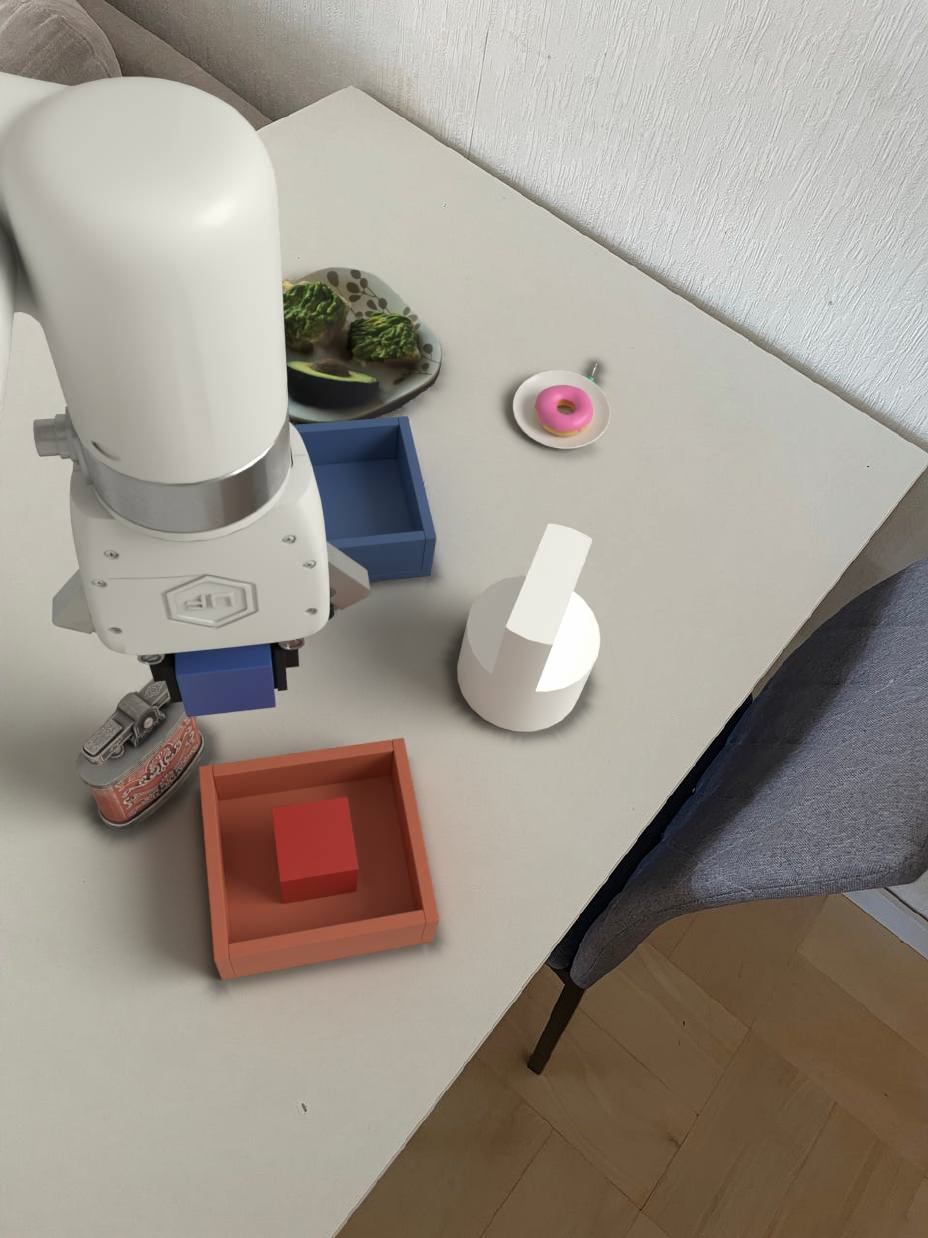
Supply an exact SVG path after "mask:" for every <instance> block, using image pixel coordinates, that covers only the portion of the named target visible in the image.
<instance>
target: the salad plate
mask: <svg viewBox="0 0 928 1238" xmlns="http://www.w3.org/2000/svg"><path fill="white" fill-rule="evenodd" d="M282 290H283V312H284V332H285V350H286V368H287V387H288V406H289V422H290V423H291V424H294V425H299V424H312V423H325V422H338V421H351V420H365V419H377V418H380V417H383V416H384V415H387V414H390V413H392V412H394V411H396V410H398V409H400V408H402V407H403V406H406V405H407V404H408V403H409V402H411V401H412V400H414V399H416V398H417V397H418V396H420V395H421V394H422V393H424V392H425V391H427V390H428V389H429V388H431V387H432V386H433V385H434V384H435V383H436V381H437V380H438V377H439V375H440V371H441V368H442V359H443V358H442V357H443V354H442V353H443V351H442V350H443V349H442V348H443V347H442V344H441V341H440V340H439V338H438V336H437V335H436V333H435V331H433V330H432V329H431V328H430V326H429V325H428V324H427V323H426V322H425V321H424V320H423V319H422V318H421V317H420V316H419V315H418V314H417V313H416V312H415V311H414V310H413V309H412V308H411V306H409V305H408V304H406V303H405V300H403V299H402V298H401V297H400V296H401V295H400V294H398V293H397V292H396V291H395V290H394V289H393V288H392V287H391V286H390V285H389V284H387V283H386V282H385V281H384V280H383V279H382V278H381V277H380V276H378V275H376V274H374V273H372V272H369V271H367V270H363V269H359V268H353V267H347V266H345V267H344V266H330V267H325V268H321V269H318V270H315V271H312V272H310V273H308V274H306V275H303V276H300V277H298V278H296V279H293V280H291V281H290V280H289V279H287V278H286V279H284V280H282Z"/></svg>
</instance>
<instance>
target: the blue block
mask: <svg viewBox="0 0 928 1238" xmlns="http://www.w3.org/2000/svg"><path fill="white" fill-rule="evenodd" d="M175 673H176V679H177V683H178V686H179V690H180V694H181V697H182V701H183V705H184V709H185V712H186V716H187V717H195V718H196V717H203V716H212V715H220V714H221V715H222V714H229V713H239V712H247V711H256V710H264V709H273V708H276V707H277V701H276V693H275V689H274V681H273V671H272V661H271V651H270V643H265V644H256V645H247V646H238V647H229V648H219V649H209V650H199V651H188V652H177V653H175Z"/></svg>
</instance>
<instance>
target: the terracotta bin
mask: <svg viewBox="0 0 928 1238" xmlns="http://www.w3.org/2000/svg"><path fill="white" fill-rule="evenodd" d="M406 746H407V745H406V741H405V738H404V737H402V738H401V737H400V738H392V739H386V740H380V741H373V742H372V741H371V742H365V743H359V744H351V745H344V746H337V747H330V748H323V749H316V750H315V749H314V750H307V751H303V752H295V753H288V754H281V755H273V756H265V757H259V758H251V759H244V760H238V761H231V762H225V763H217V764H209V765H201V766H199V767H198V779H199V791H200V793H199V794H200V804H201V816H202V827H203V841H204V852H205V865H206V878H207V888H208V901H209V902H208V903H209V913H210V915H209V916H210V926H211V937H212V938H211V939H212V949H213V961H214V963H215V966H216V968H217V972H218V974H219V976H220V979H221V981H225V980H226V981H227V980H231V979H237V978H242V977H247V976H253V975H259V974H265V973H269V972H274V971H280V970H285V969H291V968H297V967H301V966H307V965H314V964H318V963H324V962H328V961H334V960H340V959H346V958H351V957H357V956H361V955H367V954H372V953H373V954H374V953H379V952H383V951H389V950H394V949H400V948H406V947H410V946H416V945H422V944H427V943H432V942H433V939H434V936H435V934H436V931H437V927H438V924H439V922H440V916H439V912H438V906H437V902H436V901H437V900H436V896H435V891H434V886H433V881H432V875H431V869H430V865H429V859H428V854H427V850H426V845H425V840H424V834H423V828H422V824H421V819H420V814H419V807H418V803H417V798H416V793H415V792H416V791H415V787H414V782H413V777H412V773H411V767H410V761H409V757H408V751H407V747H406ZM341 797H347V798H348V805H349V811H350V817H351V824H352V830H353V836H354V843H355V849H356V855H357V862H358V868H359V869H358V881H357V891H356V892H352V893H346V894H340V895H334V896H328V897H322V898H317V899H311V900H305V901H299V902H293V903H287V904H283V902H282V894H281V886H280V878H279V869H278V861H277V852H276V844H275V835H274V827H273V818H272V810H271V809H272V808H275V807H282V806H288V805H295V804H301V803H308V802H315V801H321V800H328V799H334V798H341Z"/></svg>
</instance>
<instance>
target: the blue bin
mask: <svg viewBox="0 0 928 1238" xmlns="http://www.w3.org/2000/svg"><path fill="white" fill-rule="evenodd" d="M292 425H293V426H294V427H295V428H296V430H297V431H298V432H299V434H300V436H301V438H302V440H303V443H304V445H305V448H306V450H307V453H308V455H309V459H310V462H311V465H312V468H313V472H314V476H315V479H316V483H317V487H318V491H319V495H320V499H321V504H322V511H323V517H324V524H325V534H326V541H327V542H328V543H330V544H331V545H333V546H334V547H336V548H337V549H338V550H340V551H341V552H343V553H344V554H345V555H347V556H348V557H350V558H351V559H352V560H354V561H355V562H357V563H358V564H359V565H361V566H362V567H364V568H365V569H366V570H367V572H368V578H369V583H372V582H381V581H382V582H383V581H389V580H390V581H391V580H400V579H409V578H417V577H426V576H431V575H432V569H433V563H434V556H435V550H436V549H435V548H436V544H437V533H436V530H435V526H434V521H433V516H432V513H431V508H430V503H429V500H428V499H429V498H428V496H427V491H426V488H425V487H426V486H425V483H424V478H423V474H422V471H421V466H420V465H421V464H420V461H419V457H418V454H417V449H416V446H415V440H414V435H413V432H412V427H411V423H410V418H409V416H408V415H403V416H401V415H400V416H391V417H377V418H373V419H365V420H351V421H338V422H325V423H312V424H299V425H298V424H292Z"/></svg>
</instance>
